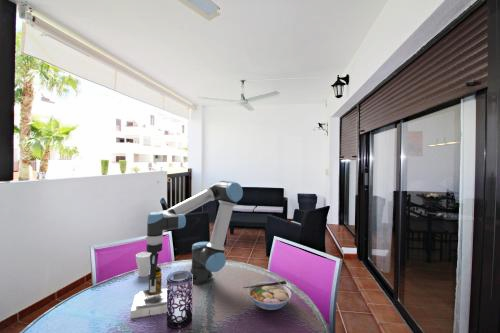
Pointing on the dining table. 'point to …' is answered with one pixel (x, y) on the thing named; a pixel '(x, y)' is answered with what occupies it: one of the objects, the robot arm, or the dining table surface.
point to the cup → (143, 263)
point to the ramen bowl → (269, 294)
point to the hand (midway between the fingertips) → (153, 288)
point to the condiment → (158, 284)
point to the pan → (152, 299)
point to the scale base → (146, 309)
